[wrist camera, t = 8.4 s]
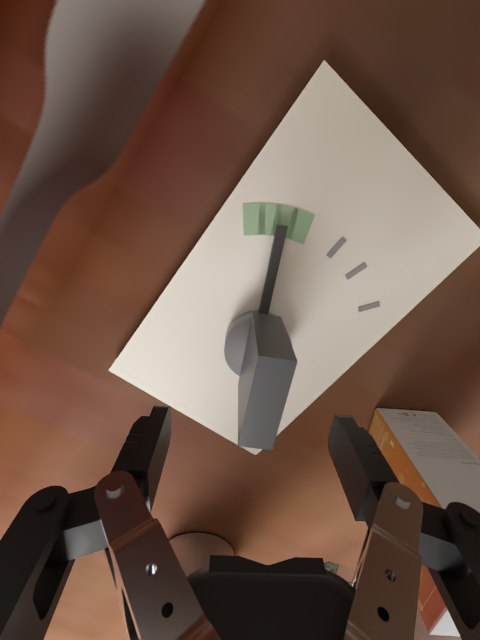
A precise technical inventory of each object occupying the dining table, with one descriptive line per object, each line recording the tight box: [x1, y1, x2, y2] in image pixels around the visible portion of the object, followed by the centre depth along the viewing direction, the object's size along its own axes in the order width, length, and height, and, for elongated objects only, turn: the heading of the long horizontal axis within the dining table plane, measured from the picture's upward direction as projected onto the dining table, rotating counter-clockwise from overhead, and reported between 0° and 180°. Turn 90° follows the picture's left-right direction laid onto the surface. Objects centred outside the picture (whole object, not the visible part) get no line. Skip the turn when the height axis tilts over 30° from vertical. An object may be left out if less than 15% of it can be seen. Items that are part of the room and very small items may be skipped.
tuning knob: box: [224, 224, 298, 450], centre depth 18 cm, size 12×5×8 cm, turn 170°
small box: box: [368, 408, 480, 637], centre depth 23 cm, size 8×6×13 cm
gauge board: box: [109, 60, 480, 455], centre depth 22 cm, size 26×16×2 cm, turn 142°
